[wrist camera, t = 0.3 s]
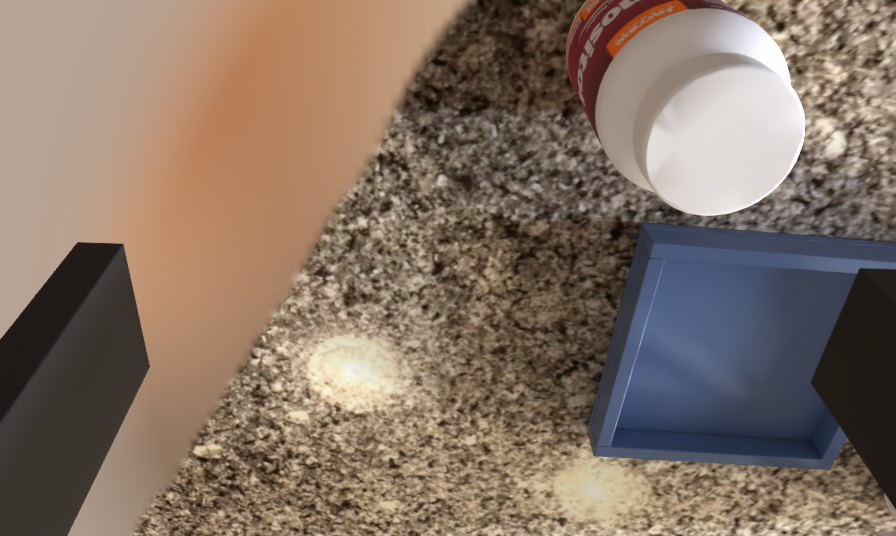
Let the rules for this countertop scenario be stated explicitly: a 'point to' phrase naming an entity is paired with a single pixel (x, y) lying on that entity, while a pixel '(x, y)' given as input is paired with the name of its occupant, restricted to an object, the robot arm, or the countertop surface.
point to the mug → (894, 534)
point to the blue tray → (726, 347)
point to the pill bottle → (686, 100)
